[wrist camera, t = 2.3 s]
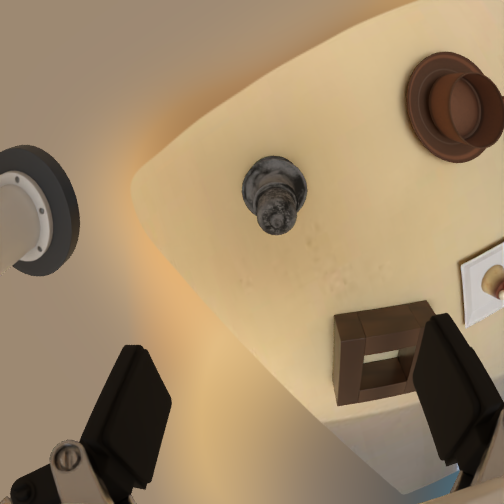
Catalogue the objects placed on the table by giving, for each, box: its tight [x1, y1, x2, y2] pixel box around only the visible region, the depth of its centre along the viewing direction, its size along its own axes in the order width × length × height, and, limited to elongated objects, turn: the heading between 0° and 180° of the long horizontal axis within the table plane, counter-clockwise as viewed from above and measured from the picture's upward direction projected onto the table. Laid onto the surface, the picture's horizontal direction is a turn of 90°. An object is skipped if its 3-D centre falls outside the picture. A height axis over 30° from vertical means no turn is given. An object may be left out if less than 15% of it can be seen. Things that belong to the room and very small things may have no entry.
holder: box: [333, 301, 436, 406], centre depth 38 cm, size 13×13×5 cm
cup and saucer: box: [407, 52, 504, 163], centre depth 24 cm, size 12×12×6 cm
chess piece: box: [242, 156, 307, 235], centre depth 26 cm, size 6×6×12 cm
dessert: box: [461, 242, 504, 329], centre depth 33 cm, size 12×12×5 cm
